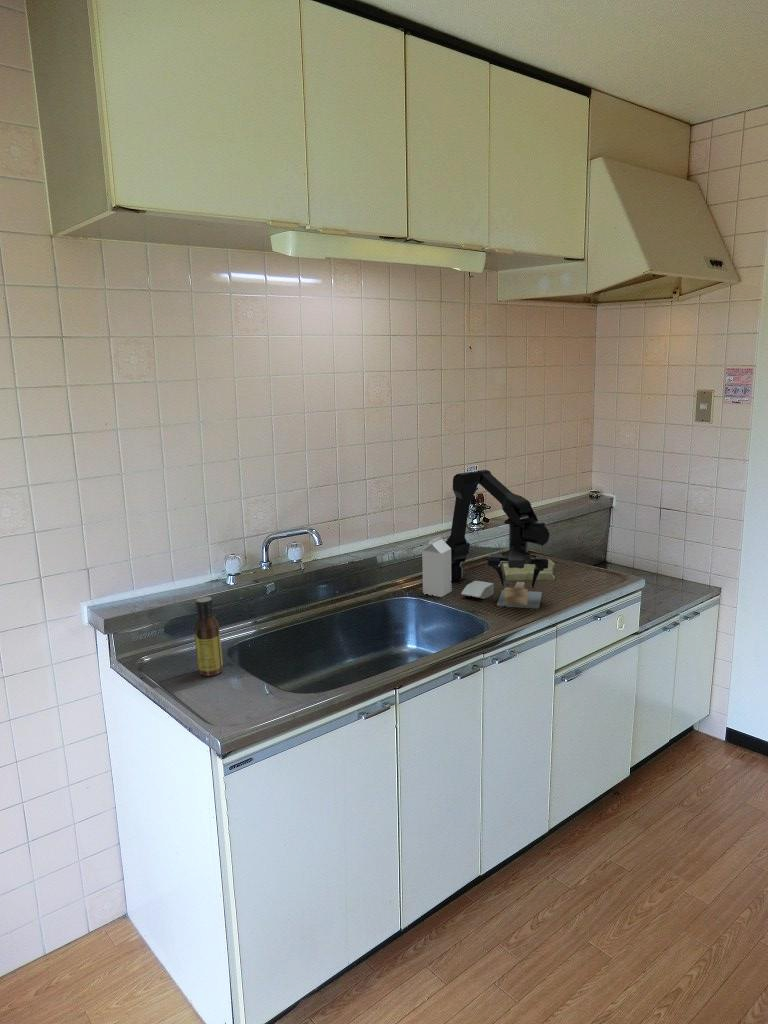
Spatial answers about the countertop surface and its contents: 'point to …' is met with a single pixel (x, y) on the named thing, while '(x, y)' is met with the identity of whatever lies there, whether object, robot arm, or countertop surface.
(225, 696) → the countertop surface
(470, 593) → the paper bag
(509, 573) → the decorative tile
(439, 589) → the milk carton
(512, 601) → the wooden t-shaped block
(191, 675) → the countertop surface
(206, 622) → the sauce bottle
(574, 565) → the countertop surface
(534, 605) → the tool mat
